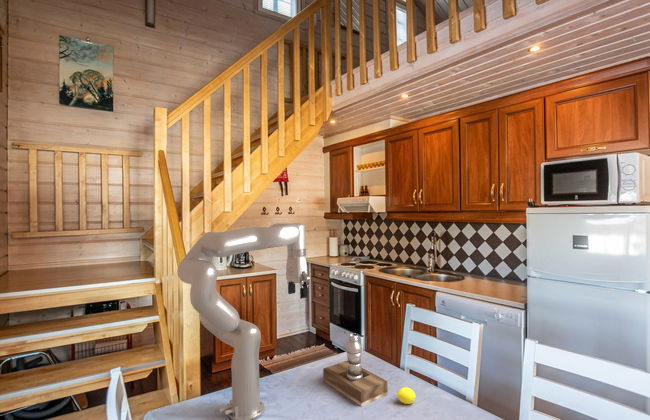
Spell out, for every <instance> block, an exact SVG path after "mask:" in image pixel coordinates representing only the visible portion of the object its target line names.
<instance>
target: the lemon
mask: <svg viewBox="0 0 650 420" xmlns="http://www.w3.org/2000/svg"><path fill="white" fill-rule="evenodd" d="M396 396H397V398H398V400H399V401H400V402H401V403H402V404H405V405H410V404H412V403H414V401H415V400H416V397H417V396H416V393H415V392H414V390H413V389H411V388H410V387H408V386H407V387H402V388H400V389H399V390H398V392H397V393H396Z"/></svg>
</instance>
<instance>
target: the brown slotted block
mask: <svg viewBox="0 0 650 420" xmlns="http://www.w3.org/2000/svg"><path fill="white" fill-rule="evenodd" d="M361 368H362V375H363V378H361V379H358V380H356V381H353V382H350V381H349V380H347V374H348V359H347V360H345V361H342V362H339V363H335V364H333V365H330V366H327V367H323V371H322V372H323V382H325V383H326V384H327V385H329V386H330V387H332V388H334V390H336V391H338V392H340V393H341V394H343V395H344V396H345V397H347V398H348V399H350V401H351V400H352V401H353V402H354V403H356V404H357V405H358V406H360V407H363V406H366V405H368V404H370V403H372V402H376V401H377V400H380V399H382V398H384V397H387V396H388V395H389V393H388V391H389V389H388V380H386V379H384V378H382V377H381V376H379V375H376V374H374V373H373V372H370V371H369V370H367V369H366V368H363V367H362V366H361Z"/></svg>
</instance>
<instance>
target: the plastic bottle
mask: <svg viewBox="0 0 650 420" xmlns="http://www.w3.org/2000/svg"><path fill="white" fill-rule="evenodd" d="M348 340H349V341H348V343H347V345H346V346H345V352H346V356H347V360H348V374H347V380H349V381H350V382H353V381H356V380H358V379H361V378H363V375H362V368H363V367H362V357H363V355H362V354H363V353H362V352H363V347H362V345H361V343H360V341H359V340H360V338H359V334H358V333H356V332H355V333H353V332H352V333H349V335H348ZM361 367H362V368H361Z"/></svg>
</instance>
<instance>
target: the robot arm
mask: <svg viewBox="0 0 650 420" xmlns="http://www.w3.org/2000/svg"><path fill="white" fill-rule="evenodd" d="M306 240H307V239H306V225H305V224H304V223H302V222H293V223H283V222H282V223H277V222H276V223H272V224H271V225H270V226H268V227H267V226H266V227H265V226H263V227H262V226H253V227H251V226H250V227H244V228H240V229H232V230H227V231H217V232H216V231H209V232H206V233H204V234H202V236H200V238H199V239H198V240H197V241H196V242H194V243H195V244H193V246H192V247H191V249H190V250H189V251H187V254H185V256H184V257H183V258H182V260H181V261H180V263H179V264H178V267H177V277H178V278H179V280H180V281H181V282H183V283H185V284H187V285H188V284H189V285H190V289H189V292H190V293H189V300H190V304H191V306H192V307H193V309H194V310H195V311H196V312H197V313H198V314H199V315H198V318H199V321H200V323H201V325H202V326H203V327H204V328H205V329H206V330H207V331H209V332H210V333H211V334H212V335H213V336H215V337H216V338H217V339H218V340H219V341H221V342H223V344H226V345H228V346H230V347H232V348H233V349H234V351H233V354H232V358H231V361H230V362H231V365H230V366H231V367H230V369H231V394H232V395H231V396H232V397H231V399H230V400H229V403H227V405H224V406H221V407H218V414H219V415H221V414H224V415H225V416H228V418H229V417H230V418H231V419H230V418H229V419H230V420H232V419H233V420H252V419H253V420H256V419H257V418H259V417H261V416H262V415H263V414H264V412H265V404H264V402H262V401H261V392H260V391H261V390H260V357H259V355H260V346H261V340H262V334H261V330H260V328H259V327H258V326H257V325H255V324H254V323H253V322H249V321H246V320H245V319H244V320H243V319H241V318H240V314H239V312H238V311H237V310H236V308H235V307H234V306H233V305H231V304H230V303H229V302H228V301H227V300H226V299H225V298H224V297H222V295H221V293H219V292H218V290H217V280H218V270H217V267H216V266H215V264H214V263H212V262H211V261H212V259H213V258H214V257H215V258H226V257H231V256H235V255H239V254H243V253H248V252H252V251H261V250H266V249H273V248H279V247H284V246H287V247H286V249H287V250H286V251H287V255H286V256H287V257H286V258H287V259H286V266H285V267H286V268H285V279H286V280H287V293H288V294H289V295H293V294H295V293H296V284H299V286H300V288H299V298H300V299H305V298H306V299H307V298H308V297H309V293H308V292H309V291H308V290H309V289H308V288H309V285H310V279H311V278H310V276H309V275H308V262H307V259H306V258H307V249H306V248H307V247H306V246H307V242H306ZM255 418H256V419H255Z"/></svg>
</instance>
